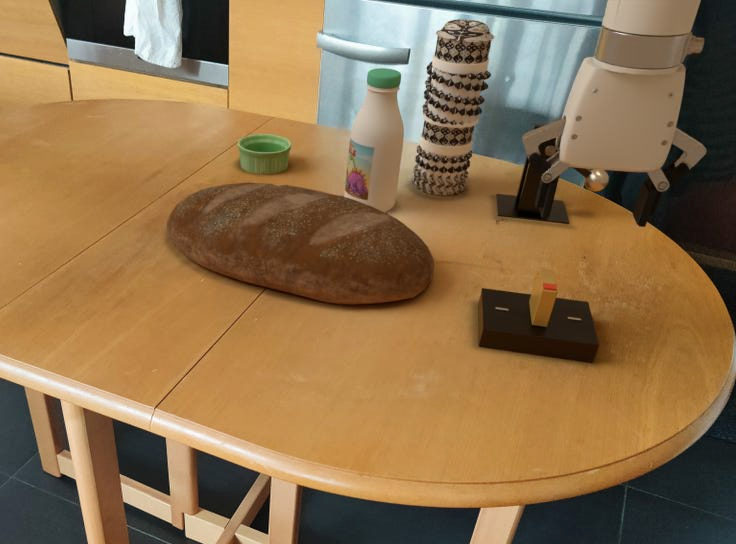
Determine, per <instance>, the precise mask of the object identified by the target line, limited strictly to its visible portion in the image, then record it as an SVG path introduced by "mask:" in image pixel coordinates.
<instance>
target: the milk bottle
mask: <svg viewBox="0 0 736 544" xmlns="http://www.w3.org/2000/svg"><path fill="white" fill-rule="evenodd" d="M401 83H402V73H401V72H400V71H399V70H397V69H393V68H385V67H383V68H382V67H379V68H372V69H370V70H368V71H367V76H366V86H365V88H366V89H367V92H366V96H365V99H364V101H363V103H362V106H361V107H360V109H359V111H358V112H357V115H356V117H355V119H354V121H353V123H352V127H351V131H350V137H349V138H350V139H349V144H348V153H347V154H348V155H347V163H346V173H345V183H344V184H345V185H344V194H343V195H344V196H343V197H347V198H350V199H353V200H356V201H359V202H361V203H364V204H366V205H369V206H371V207H374V208H376V209H378V210H380V211H382V212H385V213H387V214H388V212H389V210H391V209H393V208H394V207H395V203H396V199H397V193H398V192H397V191H398V185H399V178H400V171H401V170H400V169H401V163H402V155H403V148H404V138H405V137H404V136H405V128H404V122H403V118H402V117H403V116H402V115H401V111H400V106H399V101H398V92H399V91H400V90H401V87H400V86H401Z"/></svg>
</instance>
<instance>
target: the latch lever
mask: <svg viewBox="0 0 736 544" xmlns="http://www.w3.org/2000/svg"><path fill="white" fill-rule="evenodd" d="M571 168H572V169H573V170H575V171H576V172H577V173H579V174H580V175H581V176H583V177H584V179H583V183H584V187H585V188H586V189H587V190H589V191H591V192H600V191H602V190H603V189H605V188H606V187H607V185H608V184H609V180H610V177H609V174H608V173H607V171H606V170H599V169H586V168H575V167H571Z"/></svg>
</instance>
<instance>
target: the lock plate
mask: <svg viewBox="0 0 736 544" xmlns="http://www.w3.org/2000/svg"><path fill="white" fill-rule="evenodd" d="M530 297H531V293H525V292H517V291H509V290H500V289H493V288H485V287H482V288H481V291H480V295H479V299H478V300H479V301H478V303H477V321H478V322H477V323H478V324H477V325H478V326H477V327H478V333H477V334H478V348H483V349H491V350H496V351H497V350H498V351H504V352H505V351H506V352H510V353H511V352H512V353H516V354H517V353H518V354H525V355H531V356H539V357H544V358H545V357H547V358H551V359H552V358H553V359H559V360H565V361H574V362H581V363H587V364H593V363H594V361H595V359H596V355H597V352H598V350H599V347H600V342H599V338H598V335H597V330H596V327H595V321H594V317H593V314H592V311H591V307H590V303H589V301H586V300H585V301H584V300H577V299H571V298H562V297H556V299H555V303H554V306H553V309H552V312H551V315H550V318H549V322H548V325H547V327H543V326H535V325H532V321H531V313H530V305H529V300H530Z"/></svg>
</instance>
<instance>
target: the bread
mask: <svg viewBox="0 0 736 544" xmlns="http://www.w3.org/2000/svg"><path fill="white" fill-rule="evenodd" d="M165 229H166V232H167V234H168V236H169V238H170V240H171V241H172V242H173V244H174V245H175V246H176V247H177V248H178V249H179V251H181V252H182V253H183V254H184V255H185V256H186V257H187V258H188V259H190V260H191V261H192V262H195V263H196V264H198V265H199V266H202V267H203V268H205V269H207V270H210V271H211V272H215V273H217V274H220V275H223V276H226V277H229V278H232V279H235V280H237V281H239V282H240V281H241V282H244V283H248V284H251V285H254V286H259V287H262V288H267V289H272V290H275V291H280V292H284V293H289V294H292V295H297V296H300V297H304V298H308V299H312V300H316V301H320V302H324V303H329V304H335V305H336V304H337V305H373V304H374V305H375V304H384V303H392V302H397V301H402V300H407V299H413V298H415V297H416V296H418V295H419V294H421V293H422V292H423V291H425V289H426V288H427V286H428V285H429V283H430V282H431V280H432V279H433V276H434V273H435V267H436V266H435V259H434V256H433V255H432V252H431V251H430V248H429V246H428V245H427V244H426V243H425V242H424V241H423V239H422V238H421V237H420V236H419V235H418V234H416V232H415V231H413V230H412V229H411V228H410V227H408V226H407V225H406V224H405V223H404V222H402V221H401V220H399V219H398V218H396V217H394V216H393V215H390V214H389V213H388V212H387V213H385V212H382V211H380V210H378V209H376V208H374V207H371V206H369V205H366V204H364V203H361V202H359V201H356V200H353V199H350V198H347V197H344V196H343V195H337V194H333V193H329V192H324V191H321V190H316V189H311V188H305V187H301V186H295V185H289V184H282V185H277V184H273V183H266V182H265V183H264V182H263V183H262V182H249V181H248V182H247V181H246V182H238V183H237V182H236V183H228V184H221V185H216V186H215V185H214V186H211V187H206V188H203V189H200V190H197V191H195V192H193V193H191V194H189V195H187V196H186V197H185V198H183V199H182V200H180V201H179V202H178V203H176V205H175V206H174V207H173V209H172V210H171V212H170V213H169V216H168V219H167V221H166V227H165Z"/></svg>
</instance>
